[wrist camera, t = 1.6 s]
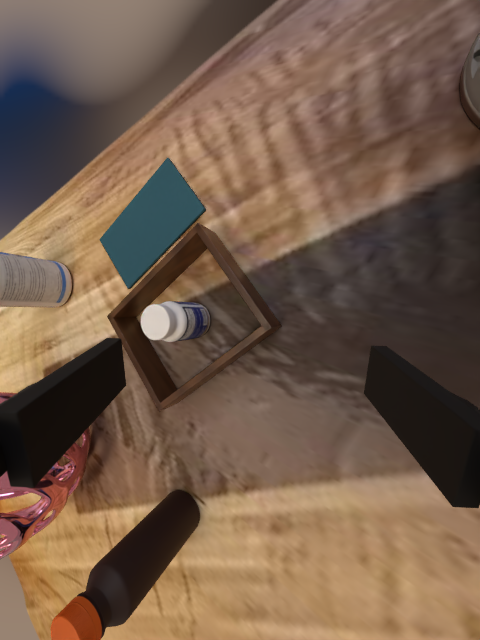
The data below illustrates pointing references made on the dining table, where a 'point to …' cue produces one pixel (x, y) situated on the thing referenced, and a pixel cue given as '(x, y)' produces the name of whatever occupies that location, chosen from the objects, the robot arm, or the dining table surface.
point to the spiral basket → (51, 489)
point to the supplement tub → (33, 282)
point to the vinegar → (128, 570)
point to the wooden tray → (158, 281)
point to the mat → (151, 223)
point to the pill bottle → (175, 321)
